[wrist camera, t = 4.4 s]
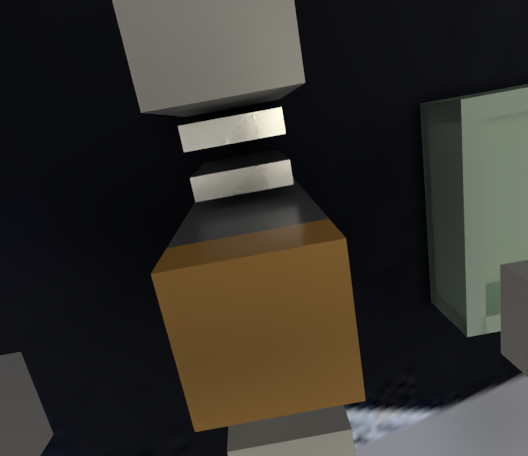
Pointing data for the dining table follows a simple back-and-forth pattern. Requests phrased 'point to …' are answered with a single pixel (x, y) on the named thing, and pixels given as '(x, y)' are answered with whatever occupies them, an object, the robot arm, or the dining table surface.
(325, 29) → the dining table surface
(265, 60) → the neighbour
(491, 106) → the tray
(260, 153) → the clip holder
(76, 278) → the dining table surface
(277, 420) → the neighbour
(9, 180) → the dining table surface
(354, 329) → the block
